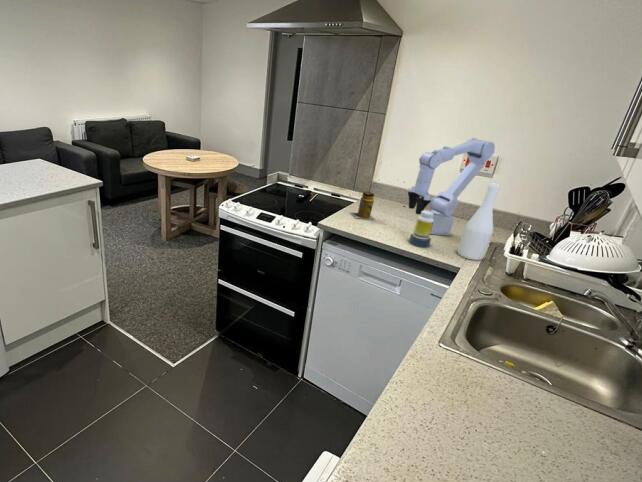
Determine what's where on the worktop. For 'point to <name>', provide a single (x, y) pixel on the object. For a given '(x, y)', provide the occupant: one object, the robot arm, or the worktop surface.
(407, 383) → the worktop surface
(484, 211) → the wine bottle
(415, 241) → the tin
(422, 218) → the pill bottle
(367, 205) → the condiment
